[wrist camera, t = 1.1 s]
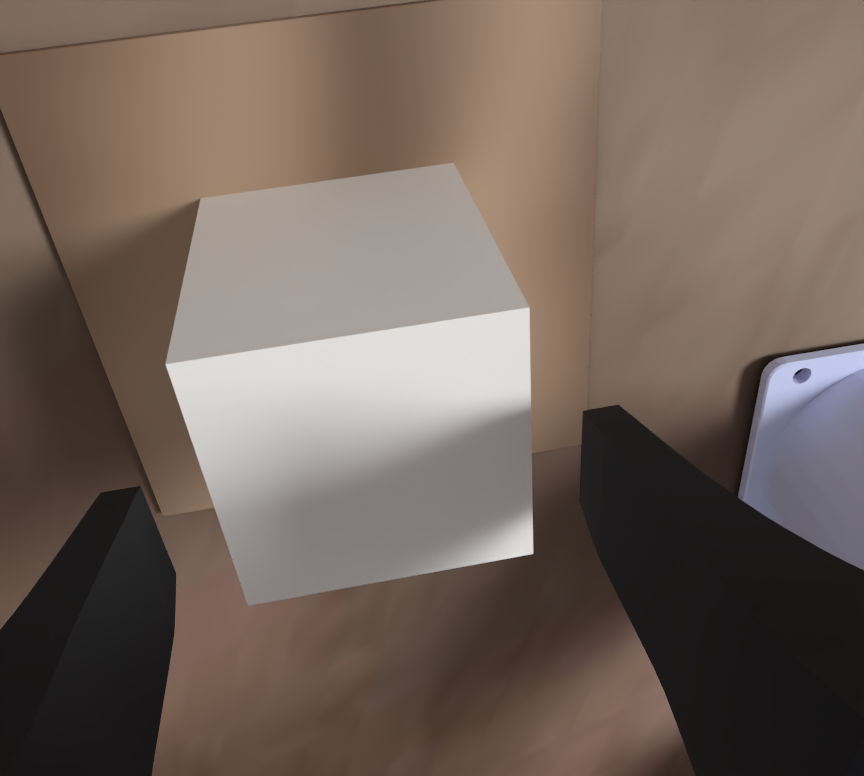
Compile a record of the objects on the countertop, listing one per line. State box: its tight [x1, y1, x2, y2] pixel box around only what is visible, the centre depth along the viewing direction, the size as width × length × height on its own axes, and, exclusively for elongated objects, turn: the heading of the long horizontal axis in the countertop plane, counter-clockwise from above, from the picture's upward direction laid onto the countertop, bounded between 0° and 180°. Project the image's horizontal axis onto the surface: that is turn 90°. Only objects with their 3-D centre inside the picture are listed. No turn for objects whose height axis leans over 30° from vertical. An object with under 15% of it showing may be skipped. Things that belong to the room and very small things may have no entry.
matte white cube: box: [165, 163, 533, 606], centre depth 16 cm, size 6×6×6 cm
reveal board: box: [0, 0, 603, 516], centre depth 19 cm, size 12×12×1 cm
